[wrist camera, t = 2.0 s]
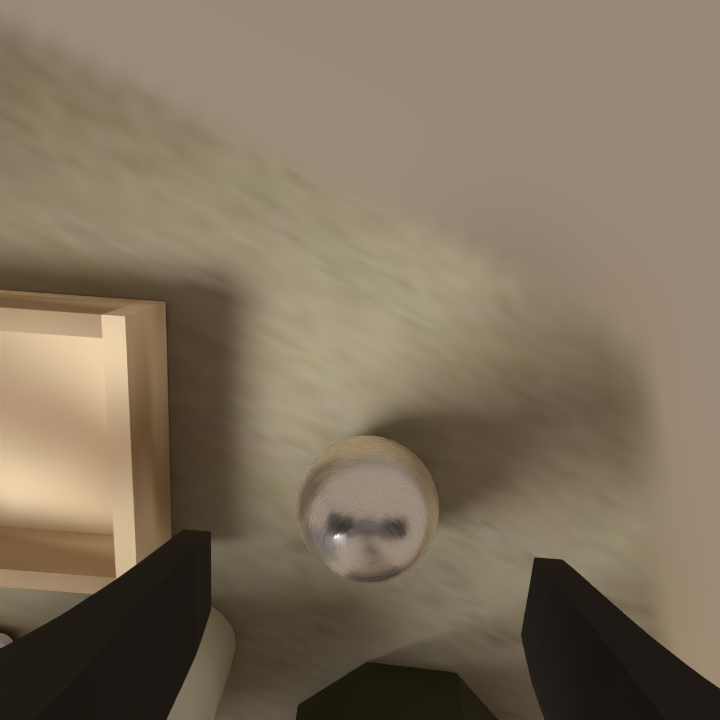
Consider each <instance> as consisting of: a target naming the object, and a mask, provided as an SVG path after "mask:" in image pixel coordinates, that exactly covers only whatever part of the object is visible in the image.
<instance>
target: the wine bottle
mask: <svg viewBox="0 0 720 720" xmlns="http://www.w3.org/2000/svg"><path fill="white" fill-rule="evenodd" d="M296 720H497V719H496V717H495V716H494V715H493V714H492V713H491V712H490V711H489V710H488V708H487V707H486V706H485V705H484V704H483V703H482V702H481V701H480V699H479V698H478V697H477V696H476V695H475V694H474V693H473V692H472V690H471V689H470V688H469V687H468V686H467V685H466V684H465V683H464V681H463V680H462V679H461V678H460V677H459V676H458V675H457V674H456V673H449V672H441V671H432V670H424V669H416V668H408V667H400V666H392V665H383V664H375V663H365V664H364V665H362V666H361V667H359V668H357V669H356V670H354V671H353V672H351V673H349V674H348V675H346V676H345V677H343V678H341V679H340V680H338V681H337V682H335V683H333V684H332V685H330V686H329V687H327V688H325V689H324V690H322V691H321V692H319V693H317V694H316V695H314V696H312V697H311V698H309V699H308V700H306V701H304V702H303V703H301V704H300V705H298V709H297V715H296Z"/></svg>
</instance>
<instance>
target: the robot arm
mask: <svg viewBox="0 0 720 720" xmlns="http://www.w3.org/2000/svg"><path fill="white" fill-rule="evenodd" d="M210 612H211V532H208V531H195V530H183V531H181V532H180V533H178V534H177V535H175V536H174V537H173V538H171V539H170V540H169V541H167V542H166V543H165V544H163V545H162V546H161V547H159V548H158V549H157V550H155V551H154V552H153V553H151V554H150V555H149V556H147V557H146V558H145V559H143V560H142V561H140V562H139V563H138V564H136V565H135V566H133V567H132V568H131V569H129V570H128V571H127V572H125V573H124V574H122V575H121V576H120V577H118V578H117V579H116V580H114V581H113V582H111V583H110V584H108V585H107V586H105V587H104V588H102V589H101V590H99V591H97V592H96V593H94V594H93V595H91V596H90V597H88V598H87V599H85V600H84V601H82V602H81V603H79V604H78V605H76V606H75V607H73V608H72V609H70V610H68V611H67V612H65V613H64V614H62V615H60V616H59V617H57V618H55V619H53V620H52V621H50V622H48V623H47V624H45V625H43V626H41V627H39V628H38V629H36V630H34V631H32V632H30V633H29V634H27V635H25V636H23V637H21V638H19V639H18V640H16V641H14V642H13V640H12V639H11V638H10V637H9V636H7V635H6V634H2V633H0V720H167V718H168V715H169V713H170V711H171V709H172V707H173V705H174V703H175V700H176V698H177V696H178V694H179V692H180V690H181V688H182V685H183V683H184V681H185V679H186V677H187V675H188V672H189V670H190V668H191V666H192V664H193V661H194V659H195V657H196V655H197V652H198V649H199V646H200V643H201V640H202V637H203V634H204V631H205V628H206V625H207V621H208V618H209V615H210ZM521 637H522V642H523V646H524V651H525V656H526V660H527V665H528V669H529V673H530V677H531V681H532V685H533V688H534V690H535V693H536V696H537V699H538V702H539V705H540V708H541V711H542V713H543V716H544V719H545V720H720V688H718V687H717V686H715V685H714V684H712V683H711V682H709V681H708V680H707V679H705V678H704V677H702V676H701V675H700V674H698V673H697V672H696V671H694V670H693V669H692V668H690V667H689V666H688V665H686V664H685V663H684V662H682V661H681V660H680V659H679V658H677V657H676V656H675V655H674V654H672V653H671V652H670V651H668V650H667V649H666V648H665V647H663V646H662V645H661V644H660V643H658V642H657V641H656V640H655V639H653V638H652V637H651V636H650V635H649V634H647V633H646V632H645V631H644V630H643V629H641V628H640V627H639V626H638V625H637V624H635V623H634V622H633V621H632V620H631V619H630V618H628V617H627V616H626V615H625V614H624V613H623V612H622V611H620V610H619V609H618V608H617V607H616V606H615V605H614V604H612V603H611V602H610V601H609V600H608V599H607V598H606V597H605V596H604V595H602V594H601V593H600V592H599V591H598V590H597V589H596V588H595V587H593V586H592V585H591V584H590V583H589V582H588V581H587V580H586V579H585V578H583V577H582V576H581V575H580V574H579V573H578V572H577V571H575V570H574V569H573V568H572V567H571V566H570V565H568V564H567V563H566V562H565V561H563V560H560V559H548V558H535V557H534V563H533V569H532V575H531V581H530V586H529V592H528V598H527V604H526V609H525V615H524V621H523V627H522V633H521Z"/></svg>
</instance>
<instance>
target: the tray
mask: <svg viewBox="0 0 720 720" xmlns="http://www.w3.org/2000/svg"><path fill="white" fill-rule="evenodd" d="M171 538H172V529H171V490H170V452H169V414H168V375H167V337H166V302H164V301H149V300H135V299H121V298H107V297H93V296H79V295H65V294H51V293H37V292H23V291H9V290H0V587H9V588H22V589H34V590H47V591H60V592H73V593H86V594H94V593H96V592H97V591H99V590H101V589H102V588H104V587H105V586H107V585H108V584H110V583H111V582H113V581H114V580H116V579H117V578H118V577H120V576H121V575H122V574H124V573H125V572H127V571H128V570H129V569H131V568H132V567H133V566H135V565H136V564H138V563H139V562H140V561H142V560H143V559H145V558H146V557H147V556H149V555H150V554H151V553H153V552H154V551H155V550H157V549H158V548H159V547H161V546H162V545H163V544H165V543H166V542H167V541H169V540H170V539H171Z"/></svg>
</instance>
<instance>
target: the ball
mask: <svg viewBox="0 0 720 720" xmlns="http://www.w3.org/2000/svg"><path fill="white" fill-rule="evenodd" d="M296 508H297V521H298V527H299V530H300V533H301V536H302V539H303V541H304V543H305V545H306V547H307V549H308V550H309V552H310V553H311V555H312V556H313V557H314V558H315V560H316V561H317V562H318V563H319V564H320V565H321V566H322V567H324V568H325V569H326V570H328V571H329V572H331V573H332V574H334V575H336V576H338V577H340V578H342V579H345V580H347V581H351V582H355V583H363V584H372V583H380V582H385V581H388V580H391V579H394V578H396V577H398V576H400V575H402V574H404V573H405V572H407V571H409V570H410V569H411V568H412V567H414V566H415V565H416V564H417V563H418V562H419V561H420V559H421V558H422V557H423V556H424V555H425V553H426V552H427V550H428V549H429V547H430V545H431V543H432V541H433V539H434V536H435V533H436V530H437V525H438V519H439V502H438V494H437V490H436V487H435V484H434V481H433V479H432V477H431V474H430V473H429V471H428V469H427V468H426V466H425V465H424V464H423V462H422V461H421V460H420V459H419V458H418V457H417V456H416V455H415V454H414V453H413V452H412V451H411V450H409V449H408V448H406V447H405V446H403V445H401V444H400V443H398V442H396V441H393V440H391V439H388V438H384V437H380V436H370V435H364V436H355V437H351V438H347V439H344V440H342V441H339V442H337V443H336V444H334V445H332V446H330V447H329V448H327V449H326V450H324V451H323V452H322V453H321V454H320V455H319V456H318V457H317V458H316V459H315V460H314V462H313V463H312V464H311V465H310V467H309V468H308V470H307V471H306V473H305V475H304V478H303V480H302V482H301V485H300V488H299V492H298V497H297V506H296Z"/></svg>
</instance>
